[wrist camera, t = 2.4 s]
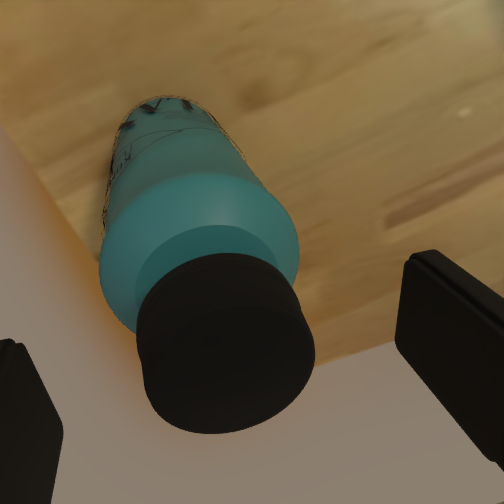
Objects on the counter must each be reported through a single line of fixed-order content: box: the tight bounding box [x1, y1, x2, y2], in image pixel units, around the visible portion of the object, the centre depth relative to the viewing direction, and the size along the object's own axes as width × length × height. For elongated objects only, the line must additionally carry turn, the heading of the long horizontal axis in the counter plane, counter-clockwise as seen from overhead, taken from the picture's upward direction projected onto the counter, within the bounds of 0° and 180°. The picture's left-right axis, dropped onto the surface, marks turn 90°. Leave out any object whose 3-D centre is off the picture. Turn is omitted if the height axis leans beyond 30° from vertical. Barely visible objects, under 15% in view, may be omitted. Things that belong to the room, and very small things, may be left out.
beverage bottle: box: [99, 95, 315, 434], centre depth 17 cm, size 6×7×20 cm
